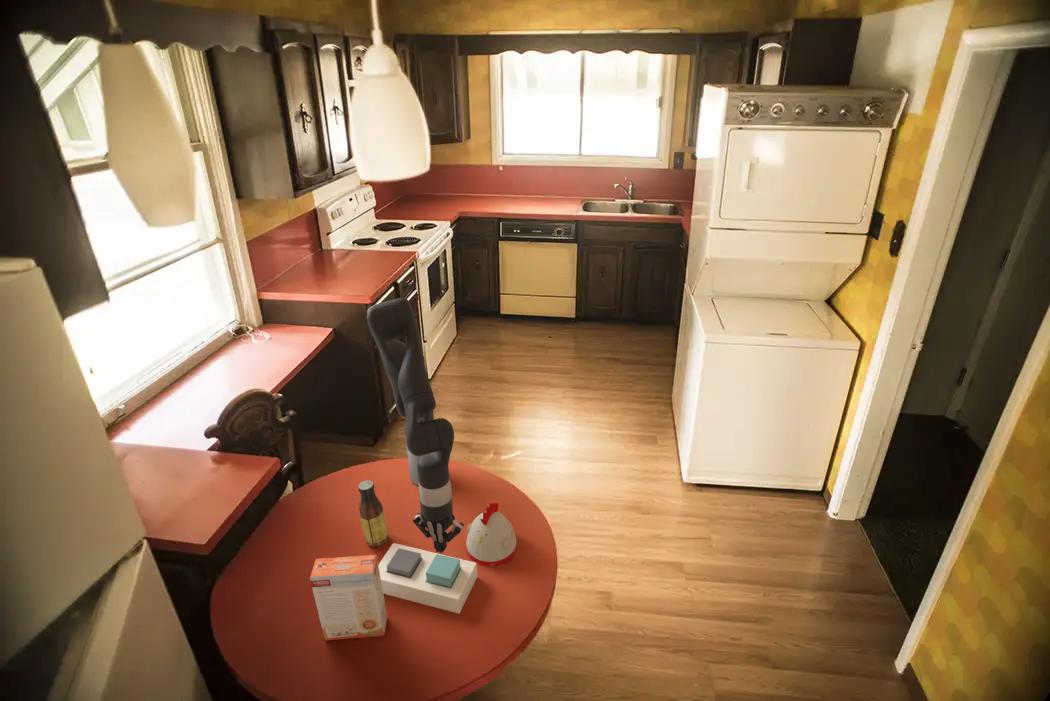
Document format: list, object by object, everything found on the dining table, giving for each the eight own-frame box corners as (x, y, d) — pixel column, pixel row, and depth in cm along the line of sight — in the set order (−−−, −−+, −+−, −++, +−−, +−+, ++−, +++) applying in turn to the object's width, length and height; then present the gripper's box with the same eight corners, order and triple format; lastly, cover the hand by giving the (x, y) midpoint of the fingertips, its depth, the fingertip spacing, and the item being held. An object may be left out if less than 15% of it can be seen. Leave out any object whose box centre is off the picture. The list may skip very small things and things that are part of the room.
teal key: (437, 565, 155) (436, 553, 153) (460, 570, 153) (459, 559, 152) (427, 584, 150) (425, 572, 148) (450, 590, 148) (449, 578, 146)
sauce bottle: (391, 532, 171) (383, 477, 162) (384, 548, 166) (375, 493, 157) (369, 531, 172) (359, 476, 163) (361, 547, 166) (351, 491, 157)
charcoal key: (400, 559, 159) (398, 548, 157) (422, 564, 157) (420, 553, 155) (388, 577, 153) (386, 566, 151) (411, 583, 152) (409, 572, 150)
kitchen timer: (456, 554, 164) (453, 513, 157) (483, 522, 175) (481, 482, 168) (500, 573, 158) (499, 530, 151) (525, 539, 169) (524, 497, 162)
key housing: (395, 556, 163) (393, 542, 161) (477, 576, 157) (476, 562, 155) (372, 590, 153) (370, 576, 151) (459, 613, 147) (458, 599, 144)
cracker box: (387, 615, 146) (377, 553, 137) (384, 637, 141) (373, 574, 131) (329, 619, 146) (315, 556, 136) (324, 641, 140) (308, 577, 131)
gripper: (468, 490, 141) (471, 545, 149) (417, 479, 144) (423, 533, 152) (455, 511, 134) (459, 567, 142) (402, 499, 138) (409, 555, 146)
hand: (440, 549), depth 147 cm, fingers closed
